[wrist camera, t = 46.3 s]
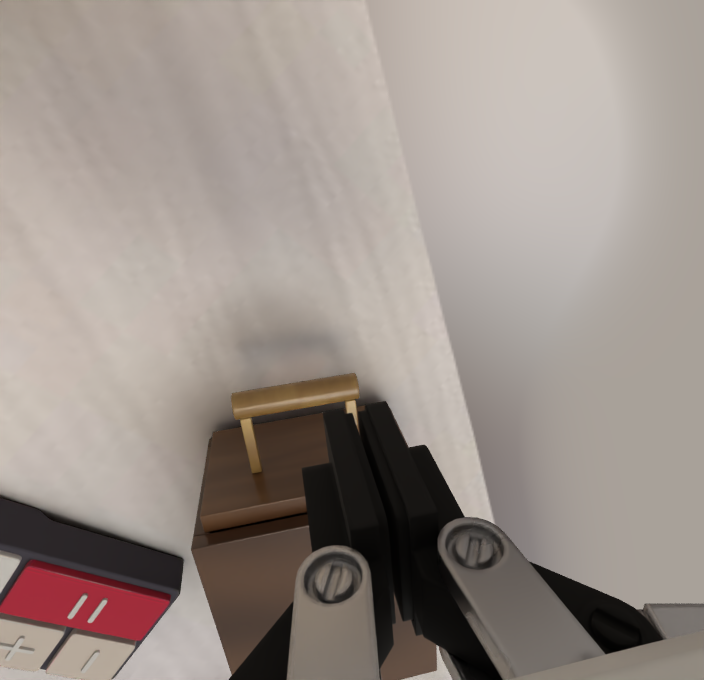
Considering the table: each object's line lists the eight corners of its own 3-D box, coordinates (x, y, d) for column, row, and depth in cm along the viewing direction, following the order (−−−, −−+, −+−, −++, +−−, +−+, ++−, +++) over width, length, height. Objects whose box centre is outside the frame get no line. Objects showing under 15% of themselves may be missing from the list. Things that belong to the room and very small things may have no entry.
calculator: (110, 692, 36) (-121, 656, 30) (121, 638, 40) (-81, 596, 34) (181, 601, 34) (-54, 542, 28) (186, 552, 38) (-19, 490, 31)
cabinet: (208, 439, 33) (190, 549, 24) (389, 407, 35) (433, 499, 26) (249, 589, 40) (245, 719, 31) (399, 556, 41) (437, 670, 33)
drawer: (194, 362, 30) (174, 434, 23) (379, 333, 31) (414, 392, 24) (250, 578, 38) (248, 680, 31) (394, 547, 40) (423, 637, 32)
